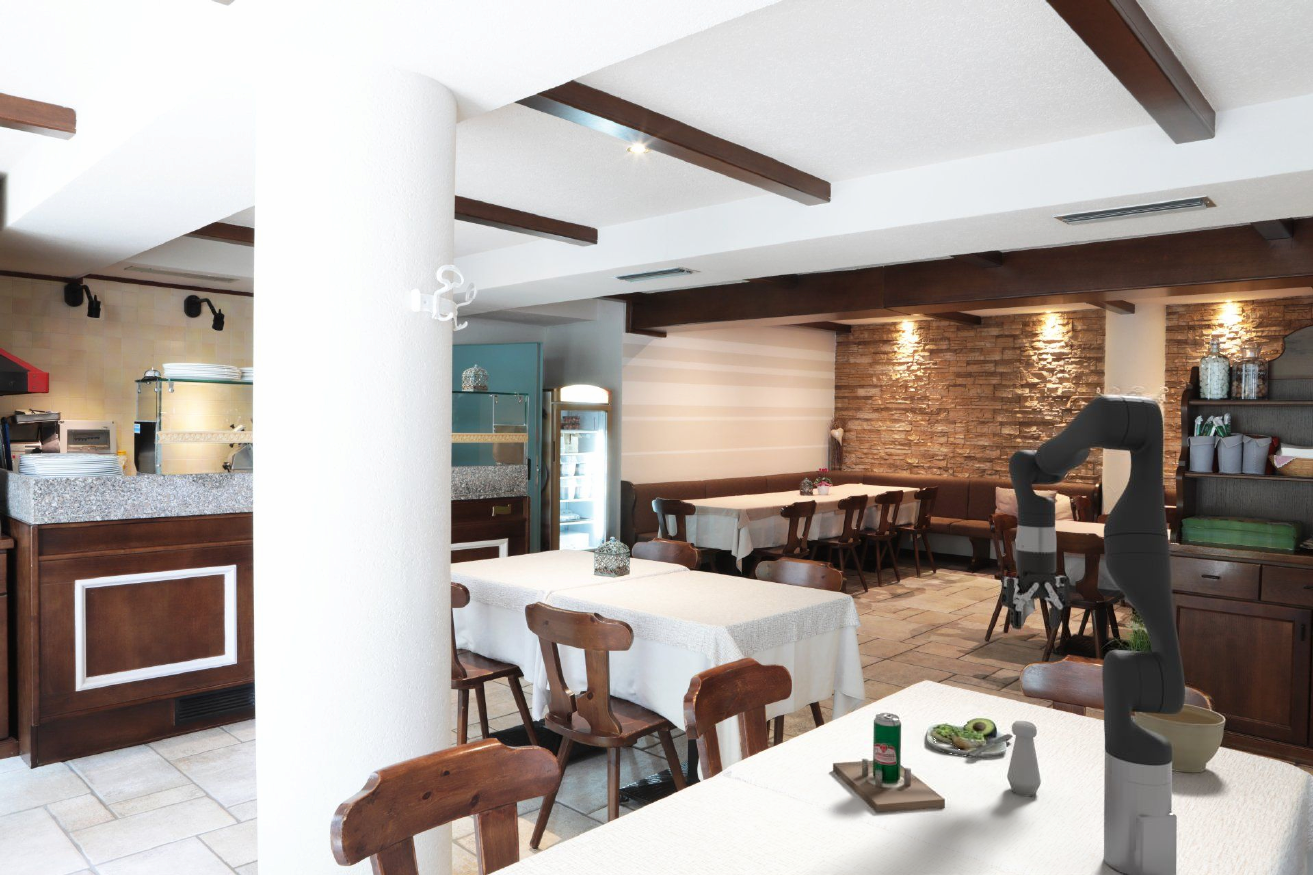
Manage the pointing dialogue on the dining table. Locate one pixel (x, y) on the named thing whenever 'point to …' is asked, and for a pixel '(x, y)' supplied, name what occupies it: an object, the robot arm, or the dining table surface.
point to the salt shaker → (1024, 760)
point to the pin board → (888, 788)
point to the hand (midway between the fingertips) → (1035, 627)
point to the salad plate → (970, 738)
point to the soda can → (887, 747)
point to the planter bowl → (1187, 735)
